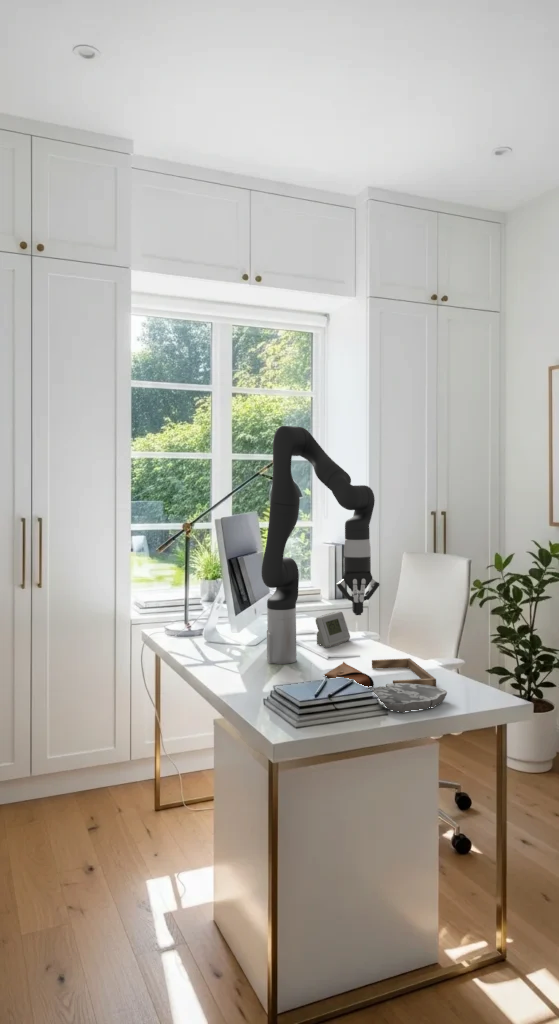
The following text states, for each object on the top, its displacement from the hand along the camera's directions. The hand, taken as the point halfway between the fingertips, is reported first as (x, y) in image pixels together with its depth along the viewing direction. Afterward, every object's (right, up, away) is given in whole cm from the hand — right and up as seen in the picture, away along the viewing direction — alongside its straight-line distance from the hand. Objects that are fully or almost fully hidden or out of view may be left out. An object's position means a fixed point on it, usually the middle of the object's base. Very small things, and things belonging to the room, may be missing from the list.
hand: (357, 614), depth 205 cm
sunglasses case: (-3, -20, 0) cm, 20 cm away
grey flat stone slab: (+10, -20, -21) cm, 31 cm away
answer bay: (+13, -19, +2) cm, 23 cm away
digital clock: (-3, -18, +48) cm, 51 cm away
